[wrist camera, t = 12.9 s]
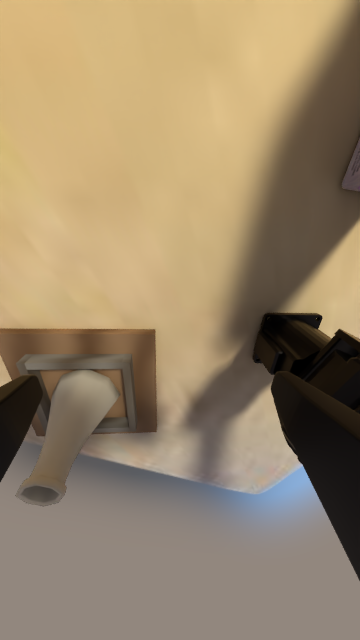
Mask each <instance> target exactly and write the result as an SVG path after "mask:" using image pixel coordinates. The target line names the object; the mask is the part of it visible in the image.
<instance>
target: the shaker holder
mask: <svg viewBox="0 0 360 640" xmlns="http://www.w3.org/2000/svg"><path fill="white" fill-rule="evenodd" d="M0 355H1V357H2V359H3V362H4V364H5V366H6V368H7V370H8V373H9V375H10V377H11V379H12V380H14V379H16V378H18V377H20V376H22V375H36V376H37V377H38V379H39V381H40V384H41V387H42V389H43V397H42V400H41V402H40V404H39V407H38V409H37V411H36V413H35V416H34V418H33V420H32V423H31V424H32V426H33V428H34V430H35V432H36V435H37V436H45V435H46V430H47V425H48V420H49V414H50V407H51V400H52V394H53V391H54V389H55V387H56V385H57V383H58V381H59V379H60V377H61V376H62V375H64V374H67V373H70V372H73V371H76V370H79V369H89V370H92V371H94V372H97V373H99V374H102V375H104V376H106V377H109V378H110V380H111V381H112V383H113V384H114V385H115V387H116V388H117V390H118V391H119V393H120V394H121V395H120V396H119V397H118V399H117V400H116V402H115V403H114V404H113V406H112V407H111V409H110V410H109V411H108V413H107V414H106V415H105V417H104V418H103V419H102V420H101V422H100V423H99V424H98V425H97V427H96V428H95V429H94V431H93V432H92V433H91V434H111V433H140V432H156V431H157V410H156V349H155V330H144V329H0Z"/></svg>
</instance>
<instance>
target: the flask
mask: <svg viewBox="0 0 360 640" xmlns="http://www.w3.org/2000/svg"><path fill="white" fill-rule="evenodd" d="M120 395H121V394H120V393H119V391H118V390H117V388H116V387H115V385H114V384H113V383H112V381H111V380H110V378H109V377H106V376H104V375H102V374H99V373H97V372H94V371H92V370H89V369H79V370H76V371H73V372H70V373H67V374H64V375H62V376H61V377H60V379H59V381H58V383H57V385H56V387H55V389H54V391H53V394H52V400H51V407H50V414H49V420H48V425H47V430H46V435H45V440H44V444H43V447H42V450H41V453H40V455H39V458H38V461H37V464H36V466H35V468H34V470H33V472H32V474H31V475H30V477H29V478H28V479H26V480H25V481H24V482H23V483H22V485H21V486H20V488H19V490H18V491H17V493H16V495H15V496H16V497H18V498H19V499H21V500H22V501H24V502H26V503H29V504H34V505H40V506H47V505H51V504H55V503H58V502H59V501H60V500H61V499H62V497H63V496H64V495H65V492H66V486H65V481H66V478H67V476H68V473H69V471H70V469H71V466H72V464H73V462H74V460H75V459H76V457H77V455H78V453H79V452H80V450H81V448H82V446H83V444H84V443H85V442H86V440H87V439H88V437H89V436H90V435H91V433H92V432H93V431H94V429H95V428H96V427H97V425H98V424H99V423H100V422H101V420H102V419H103V418H104V417H105V415H106V414H107V413H108V411H109V410H110V409H111V407H112V406H113V404H114V403H115V402H116V400H117V399H118V397H119V396H120Z"/></svg>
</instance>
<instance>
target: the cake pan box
mask: <svg viewBox="0 0 360 640" xmlns="http://www.w3.org/2000/svg"><path fill="white" fill-rule="evenodd" d="M342 188H344V189H347V190H353V191H359V192H360V138H359V141H358V143H357V146H356V149H355V151H354V154H353V156H352V159H351V161H350V164H349V166H348V169H347V171H346V174H345V177H344V179H343V182H342Z"/></svg>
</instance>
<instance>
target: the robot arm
mask: <svg viewBox="0 0 360 640" xmlns="http://www.w3.org/2000/svg"><path fill="white" fill-rule="evenodd" d="M268 317H270V318H269V319H267V318H268ZM316 318H317V319H316ZM321 321H322V316H321V315H319V314H317V313H267V314H265V315H264V317H263V320H262V324H261V328H260V331H259V332H258V335H257V339H256V343H255V347H254V355H253V360H254V362H255V363H263V364H264V366H265V367H266V369H267V370H268V372H269V373H270V374H271V375H275V376H274V379H273V382H272V385H271V392H272V395H273V398H274V403H275V406H276V410H277V413H278V417H279V420H280V424H281V428H282V431H283V434H284V437H285V439H286V441H287V444H288V445H289V447H290V448H291V449H292V450H293V452H294V453H295V454H296V455H297V456H298V460H299V462H300V463H302V464H303V466H304V469H305V470H306V473H307V475H308V476H309V478H310V481H311V483H312V485H313V487H314V489H315V491H316V493H317V495H318V497H319V499H320V501H321V503H322V505H323V507H324V509H325V511H326V513H327V515H328V517H329V519H330V521H331V524H332V526H333V527H334V530H335V532H336V534H337V535H338V538H339V540H340V541H341V544H342V546H343V548H344V550H345V552H346V554H347V556H348V558H349V560H350V562H351V564H352V566H353V568H354V570H355V572H356V574H357V576H358V578H359V580H360V339H359V338H357V337H355V336H353V335H351V334H349V333H347V332H345V331H343V330H341V329H339V330H338V331H337V332H336V333H335V336H334V337H333V338H332V339H331V338H330V337H328V336H327V335H326V334H324V333H323V332H321V331H320V330H318V328H319V325H320V323H321ZM257 358H258V359H257ZM42 397H43V389H42V387H41V384H40V381H39V379H38V377H37V376H36V375H22V376H20V377H18V378H16V379H14V380H12V381H10V382H9V383H7V384H5V385H3V386H1V387H0V482H1V480H2V478H3V477H4V475H5V473H6V471H7V469H8V468H9V466H10V464H11V462H12V460H13V459H14V457H15V455H16V453H17V451H18V449H19V448H20V446H21V444H22V442H23V440H24V438H25V436H26V434H27V432H28V429H29V427H30V425H31V423H32V420H33V418H34V416H35V413H36V411H37V409H38V407H39V404H40V402H41V400H42Z"/></svg>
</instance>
